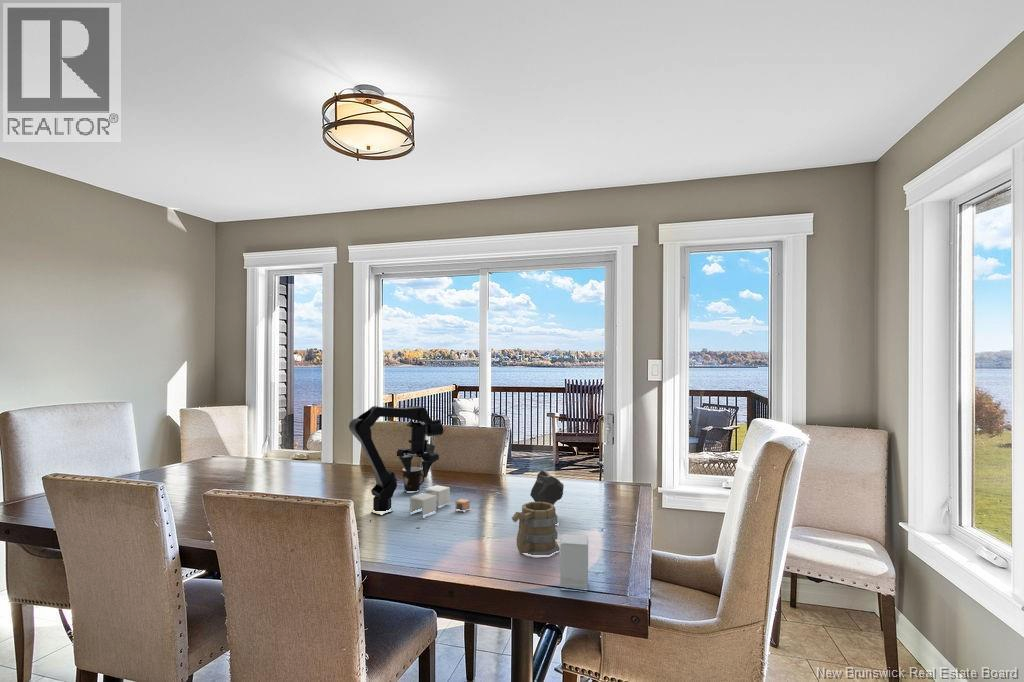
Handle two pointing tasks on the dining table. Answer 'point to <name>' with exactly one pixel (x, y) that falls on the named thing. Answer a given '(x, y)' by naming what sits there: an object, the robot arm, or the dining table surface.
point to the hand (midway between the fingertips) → (416, 475)
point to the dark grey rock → (547, 488)
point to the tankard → (537, 529)
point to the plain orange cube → (462, 504)
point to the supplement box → (574, 561)
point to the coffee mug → (412, 479)
